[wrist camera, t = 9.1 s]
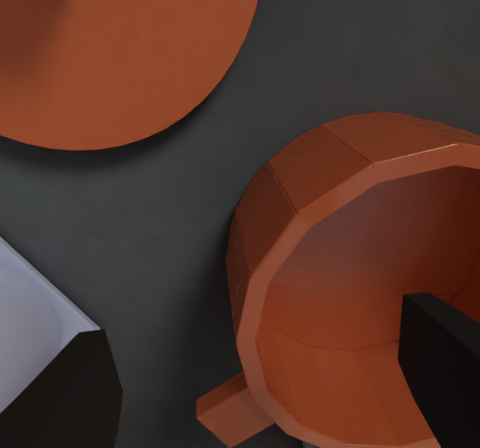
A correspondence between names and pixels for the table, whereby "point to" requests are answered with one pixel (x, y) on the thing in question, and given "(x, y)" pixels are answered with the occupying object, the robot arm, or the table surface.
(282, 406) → the pan
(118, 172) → the table surface
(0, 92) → the pan lid
